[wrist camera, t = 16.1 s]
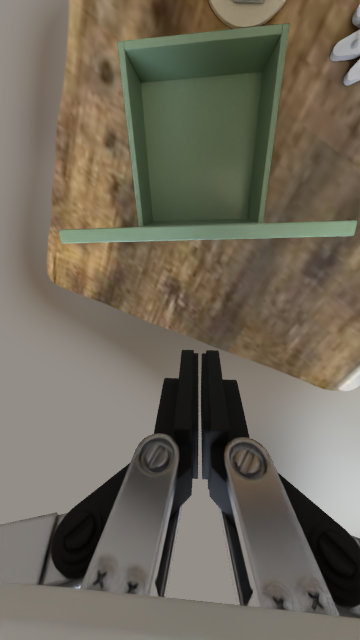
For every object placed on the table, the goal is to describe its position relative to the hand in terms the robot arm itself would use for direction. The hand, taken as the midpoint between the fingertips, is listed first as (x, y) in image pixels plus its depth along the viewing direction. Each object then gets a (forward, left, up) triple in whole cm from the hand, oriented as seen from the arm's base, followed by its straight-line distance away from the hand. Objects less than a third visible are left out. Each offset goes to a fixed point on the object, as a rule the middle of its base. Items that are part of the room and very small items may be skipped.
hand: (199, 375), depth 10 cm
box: (-12, 0, -28) cm, 31 cm away
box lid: (-5, 0, -13) cm, 14 cm away
